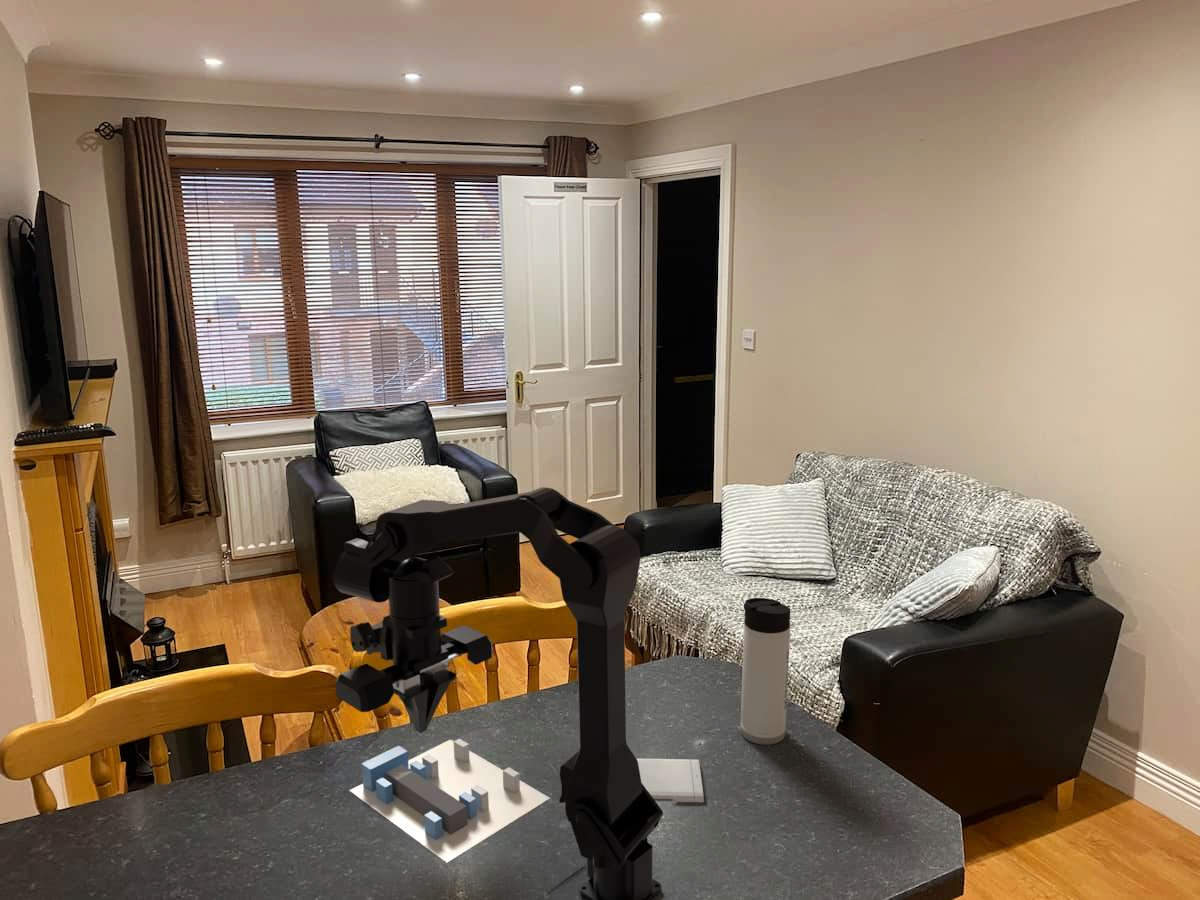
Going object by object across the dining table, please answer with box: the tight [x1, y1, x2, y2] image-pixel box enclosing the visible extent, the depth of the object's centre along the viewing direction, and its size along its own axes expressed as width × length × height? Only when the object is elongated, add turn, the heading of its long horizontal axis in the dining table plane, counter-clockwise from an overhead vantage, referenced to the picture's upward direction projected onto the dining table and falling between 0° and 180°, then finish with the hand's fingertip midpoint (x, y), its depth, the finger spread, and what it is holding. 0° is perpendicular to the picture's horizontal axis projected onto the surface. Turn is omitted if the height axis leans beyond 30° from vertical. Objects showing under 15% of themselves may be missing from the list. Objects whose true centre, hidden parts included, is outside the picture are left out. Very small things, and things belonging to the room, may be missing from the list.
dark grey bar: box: [386, 764, 468, 835], centre depth 107 cm, size 13×2×2 cm, turn 47°
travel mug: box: [740, 597, 791, 746], centre depth 122 cm, size 6×7×20 cm
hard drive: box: [636, 758, 705, 803], centre depth 113 cm, size 2×8×12 cm
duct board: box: [348, 738, 551, 864], centre depth 110 cm, size 20×16×4 cm
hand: (421, 730), depth 105 cm, fingers closed
